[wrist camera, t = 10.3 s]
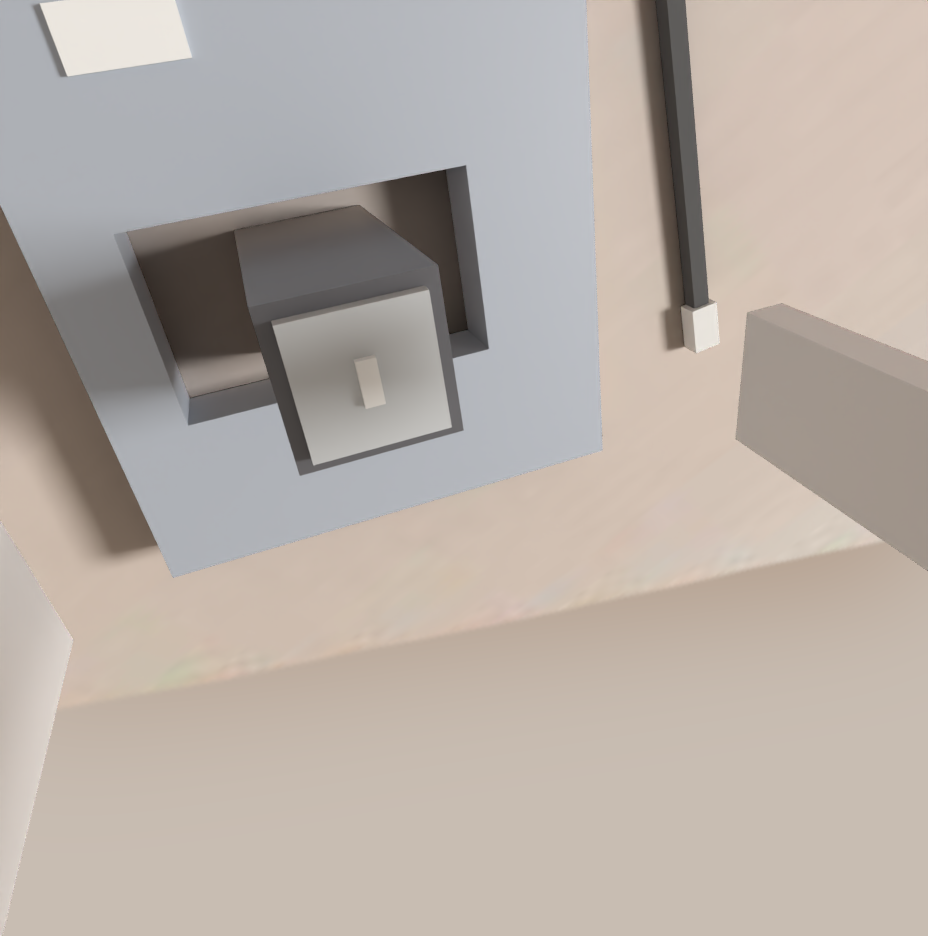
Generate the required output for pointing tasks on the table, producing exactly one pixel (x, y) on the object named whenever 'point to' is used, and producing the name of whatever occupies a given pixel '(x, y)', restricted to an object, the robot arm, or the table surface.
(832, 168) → the table surface
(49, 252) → the plate
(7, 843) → the robot arm
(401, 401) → the charger plug
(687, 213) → the cable
